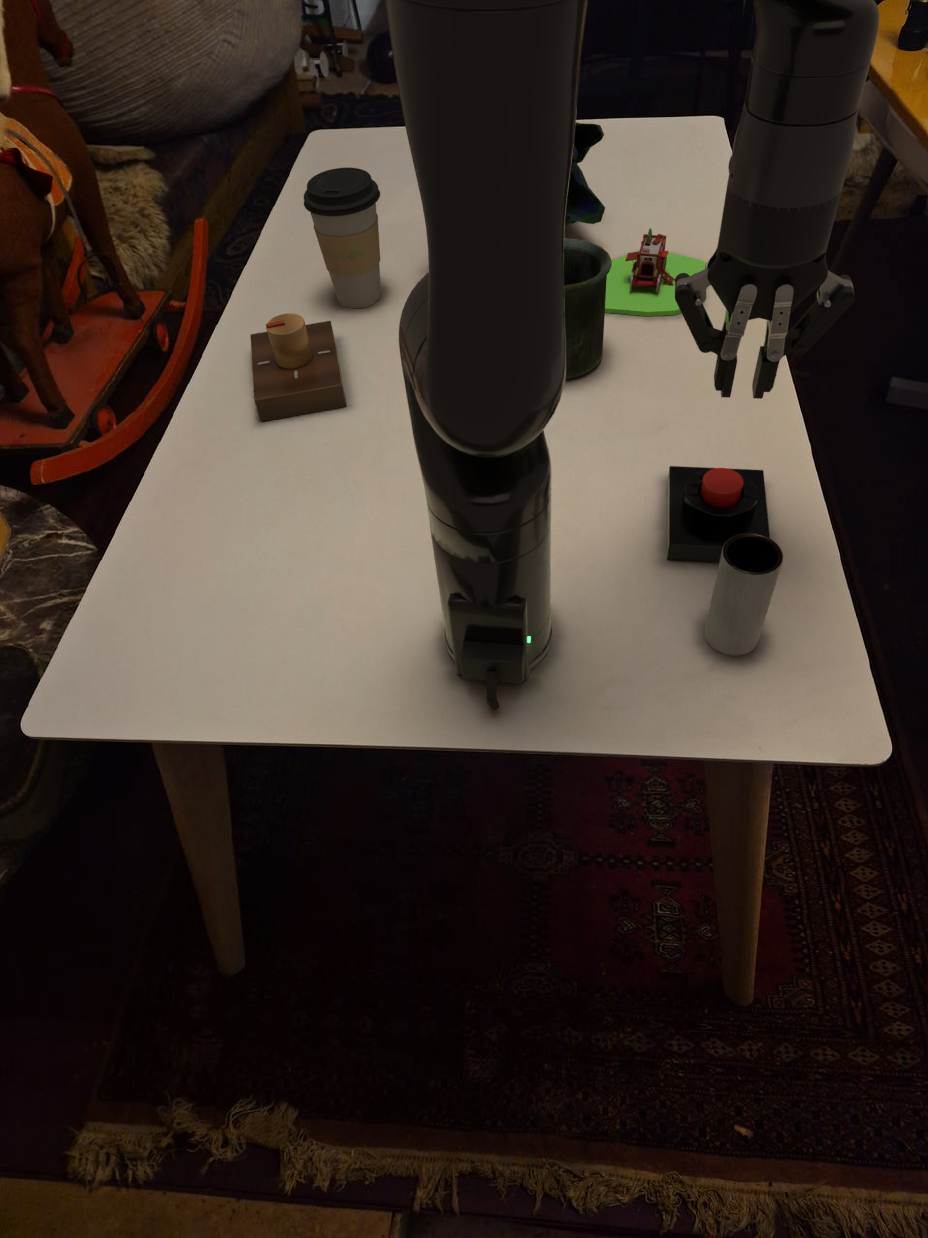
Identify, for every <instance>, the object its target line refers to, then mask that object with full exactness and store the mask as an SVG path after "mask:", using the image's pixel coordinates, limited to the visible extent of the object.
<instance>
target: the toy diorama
mask: <svg viewBox="0 0 928 1238" xmlns="http://www.w3.org/2000/svg"><path fill="white" fill-rule="evenodd" d="M666 243H667V235H664V234H661V233H657V234H653V231H652V228H651V227H649V229H648V231H647V233H643V236H642V240H641V243H640V248H639V251H633V252H628V253H627V254H626V255H624V256H623V255H622V256H620V257H617V258H614V259H611V261H612V266H611V269H610V271H609V273H608V274H607V281H606V299H605V314H606V313H607V314H619V315H629V316H630V315H631V316H640V317H659V316H676V315H679V314H682V313H681V311H680V309H679V307H678V305H677V303H676V300H675V278H676V276H677V275H679V274H680V273H687V274H688V275H689V276H691V275H693V274H696V273H698V272H700V271H702V270H704V269H706V267H707V265H706V264H707V261H704V260H700V259H697V258H694V257H693V258H692V257H688V256H685V255H680V254H678V253H677V254H676V253H673V252H669V250H666Z"/></svg>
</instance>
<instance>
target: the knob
mask: <svg viewBox="0 0 928 1238" xmlns="http://www.w3.org/2000/svg"><path fill="white" fill-rule="evenodd" d="M306 325H307V324H306V322H305V318H304V317H303V316H302V315H300V314H297V313H293V312H291V313H290V312H289V313H282V314H278V315H276V316H274V317H272V318H270V319H269V320H268V321H267V322H266V323H265V329H266V332H267V333H268V336H269V340H270V343H271V347H272V350H273V354H274V358H275V361H276V364H277V365H278V366H280V367H282V368H286V369H293V368H298V367H301V366H304V365H306V364H307V363H308V362H310V360H311V359H312V350H311V346H310V342H309V338H308V333H307V329H306Z"/></svg>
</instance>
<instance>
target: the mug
mask: <svg viewBox="0 0 928 1238" xmlns="http://www.w3.org/2000/svg"><path fill="white" fill-rule="evenodd" d="M611 260H612V258H611V256H610V254H609V252H608V251H606V249H604V248H603V247H601V246H600V245H598V244H595V243H594V242H590V241H587V240H584V239H577V238H569V237H568V238H567V237H564V302H565V336H566V377H565V380H570V379H576V378H579V377H581V376H583V375H586V374H588V373H590V372H591V371H592V370H594V368H595V367H597V365H598V364H599V363H600V361H601V359H602V357H603V354H604V353H603V351H604V332H605V315H606V313H605V299H606V281H607V274H608V273H609V271H610V269H611V266H612V261H611Z"/></svg>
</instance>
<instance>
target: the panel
mask: <svg viewBox="0 0 928 1238" xmlns="http://www.w3.org/2000/svg"><path fill="white" fill-rule="evenodd" d="M305 325H306V329H307V333H308V338H309V342H310V346H311V350H312V359H311V360H310V362H308V363H307V364H306V365H304V366H301V367H298V368H293V369H286V368H282V367H280V366H278V365H277V364H276V361H275V358H274V354H273V350H272V347H271V343H270V340H269V336H268V333H267V331H262V332H256V333H251V334H249V336H250V352H251V353H250V354H251V367H252V368H251V369H252V370H251V371H252V381H253V383H252V385H253V399H254V400H253V401H254V404H255V407H256V410H257V414H258V417H259V420H260V422H261V423H262V422H267V421H268V422H269V421H273V420H280V419H285V418H291V417H296V416H300V415H307V414H313V413H319V412H324V411H329V410H335V409H340V408H346V407H347V406H348V405H347V400H346V394H345V389H344V383H343V378H342V371H341V366H340V360H339V355H338V349H337V344H336V339H335V335H334V330H333V325H332V321H331V320H326V321H320V322H313V323H307V324H305Z"/></svg>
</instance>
